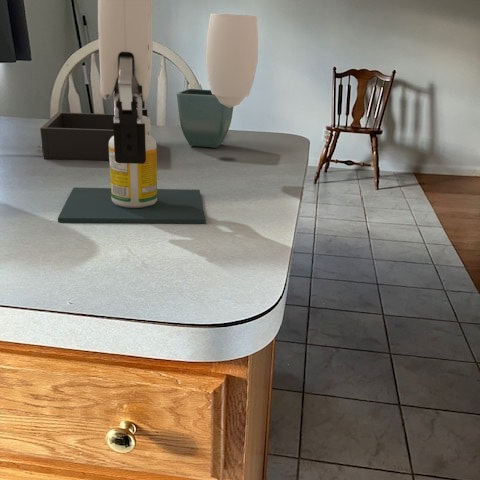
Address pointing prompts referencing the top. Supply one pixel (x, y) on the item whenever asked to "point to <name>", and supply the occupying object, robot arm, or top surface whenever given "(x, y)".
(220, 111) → the flower pot
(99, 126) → the black box
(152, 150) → the supplement bottle
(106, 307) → the top surface
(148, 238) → the top surface
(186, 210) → the mat
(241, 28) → the beige tapered shape
